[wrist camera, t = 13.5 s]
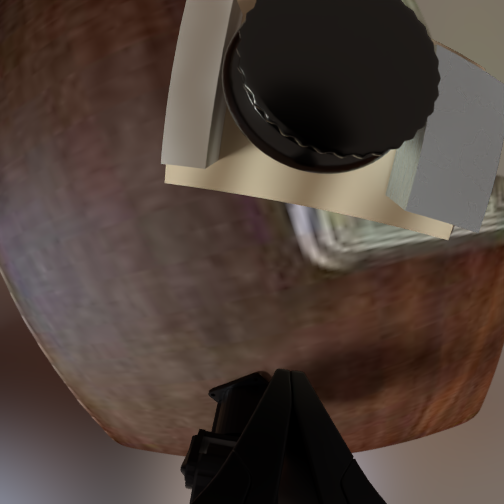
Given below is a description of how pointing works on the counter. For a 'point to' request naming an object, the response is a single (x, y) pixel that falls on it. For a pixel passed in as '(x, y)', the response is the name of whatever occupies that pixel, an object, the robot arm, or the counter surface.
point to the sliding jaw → (453, 148)
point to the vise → (242, 150)
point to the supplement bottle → (330, 81)
